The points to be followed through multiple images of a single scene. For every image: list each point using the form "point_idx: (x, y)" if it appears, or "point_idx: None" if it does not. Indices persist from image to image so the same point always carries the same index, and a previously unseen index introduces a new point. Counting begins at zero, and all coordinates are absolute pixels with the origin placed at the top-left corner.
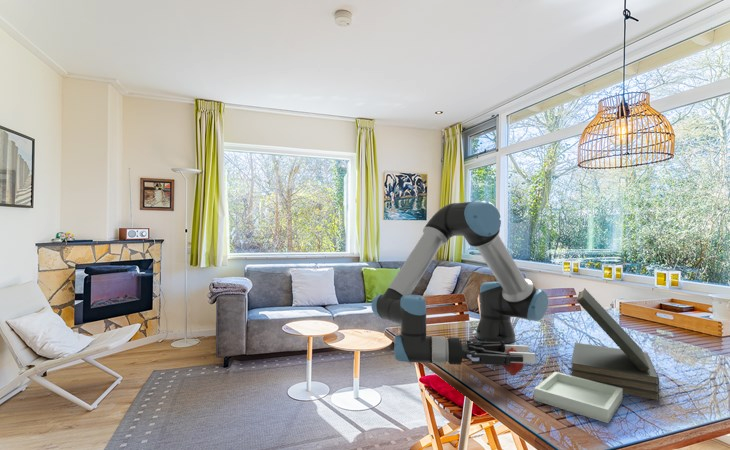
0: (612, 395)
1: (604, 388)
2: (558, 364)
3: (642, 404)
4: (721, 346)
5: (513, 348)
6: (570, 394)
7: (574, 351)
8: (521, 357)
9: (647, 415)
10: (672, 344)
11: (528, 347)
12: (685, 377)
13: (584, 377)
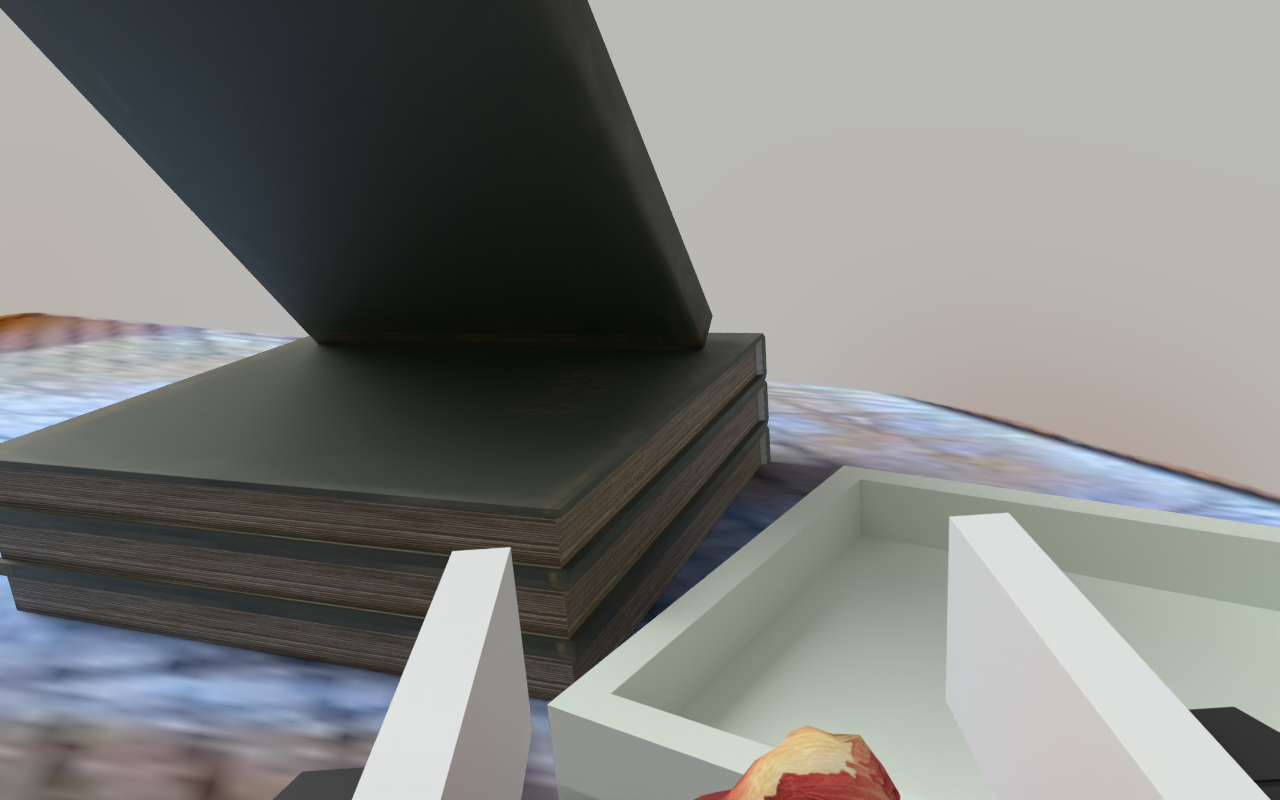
0: (1039, 505)
1: (827, 533)
2: (39, 717)
3: None
4: (126, 322)
5: (848, 763)
6: None
7: (207, 474)
8: (1273, 751)
9: None
10: (27, 365)
11: (510, 573)
12: None
13: (611, 578)
